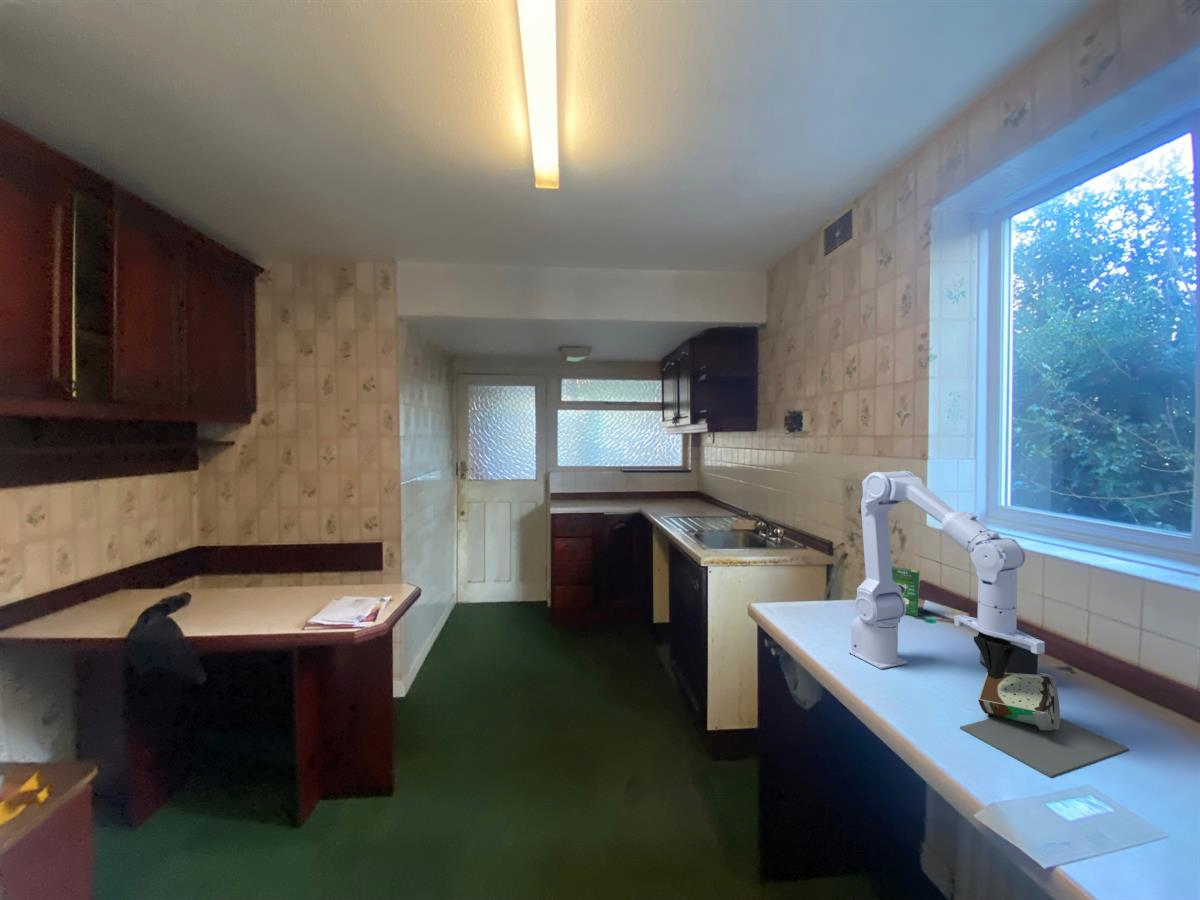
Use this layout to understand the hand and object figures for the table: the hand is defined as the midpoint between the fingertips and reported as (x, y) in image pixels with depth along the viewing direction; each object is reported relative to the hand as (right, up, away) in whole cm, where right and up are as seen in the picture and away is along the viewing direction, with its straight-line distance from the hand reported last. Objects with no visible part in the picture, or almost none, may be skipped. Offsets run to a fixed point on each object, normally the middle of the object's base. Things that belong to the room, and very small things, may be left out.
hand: (995, 676), depth 96 cm
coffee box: (+15, -6, +55) cm, 57 cm away
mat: (+3, -8, -7) cm, 11 cm away
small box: (+15, -7, +17) cm, 24 cm away
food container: (0, -6, +3) cm, 6 cm away
